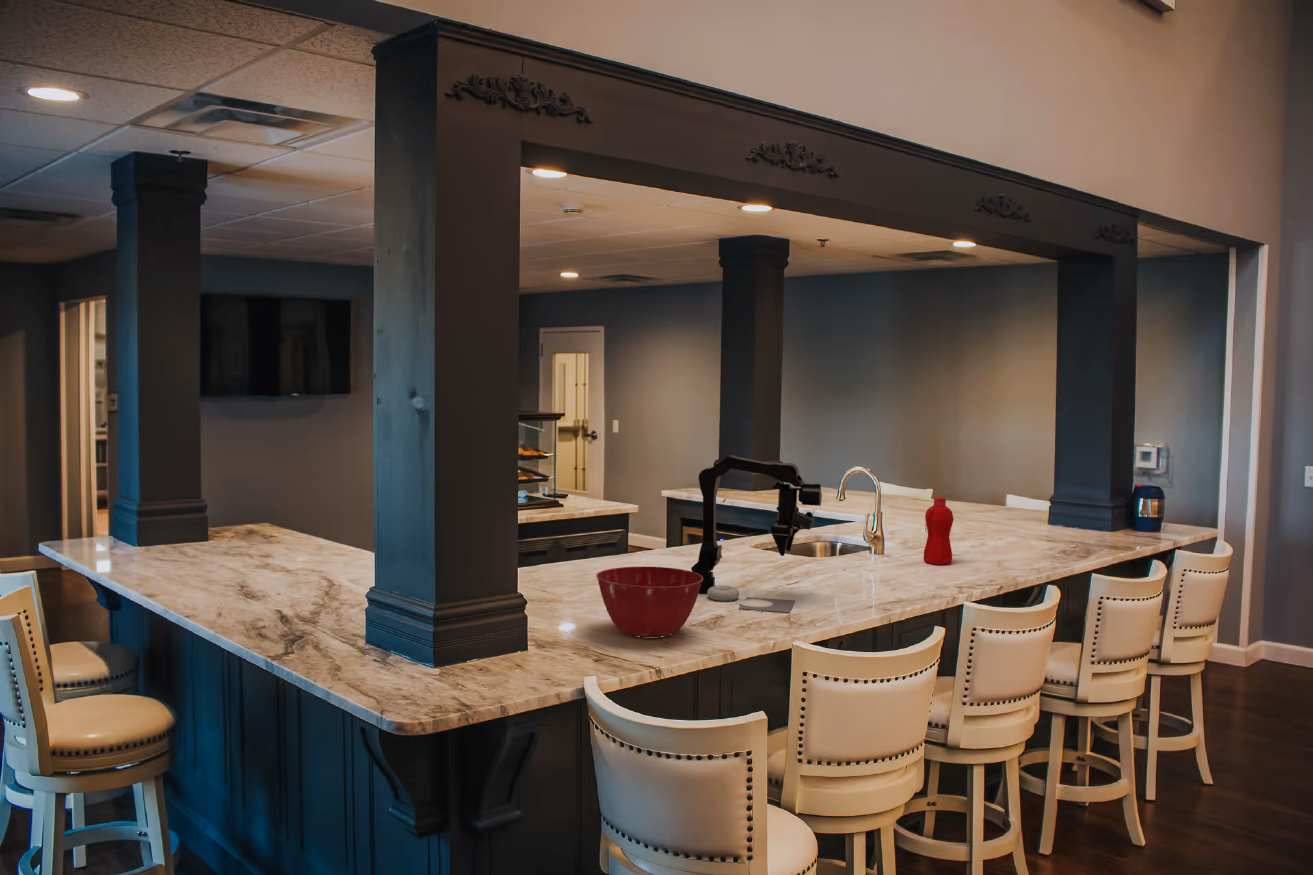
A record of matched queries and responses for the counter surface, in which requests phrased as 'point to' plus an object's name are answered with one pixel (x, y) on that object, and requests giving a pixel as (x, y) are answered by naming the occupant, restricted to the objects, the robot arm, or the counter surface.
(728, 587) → the donut
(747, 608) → the kitchen scale
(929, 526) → the water bottle
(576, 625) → the counter surface
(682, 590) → the mixing bowl
